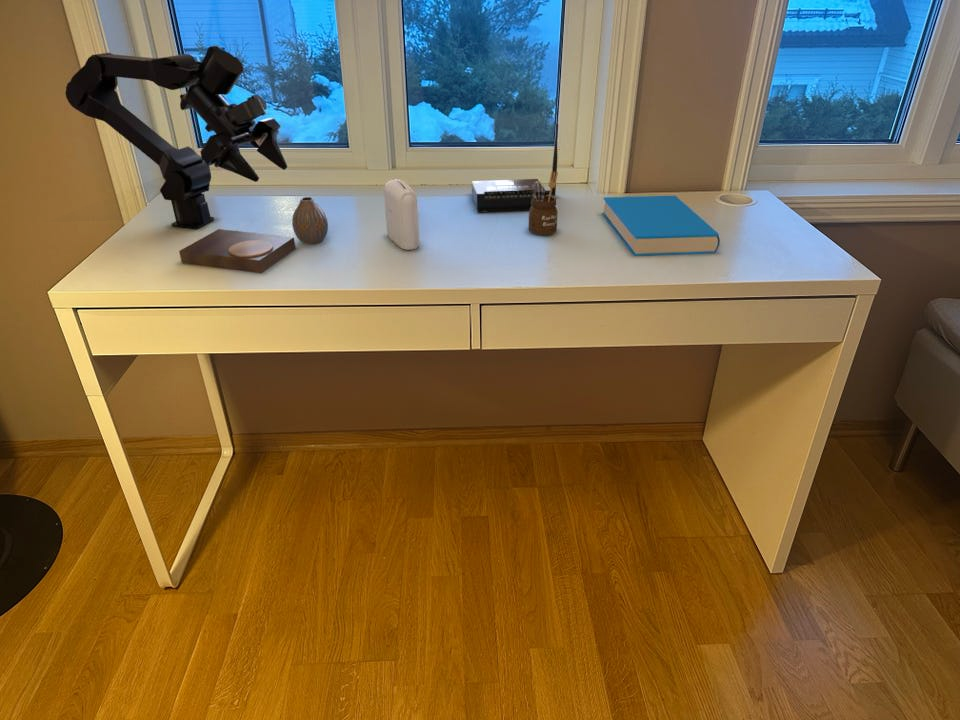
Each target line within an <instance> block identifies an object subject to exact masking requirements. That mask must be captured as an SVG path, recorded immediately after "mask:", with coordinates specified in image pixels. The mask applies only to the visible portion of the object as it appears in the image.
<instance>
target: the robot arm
mask: <svg viewBox="0 0 960 720" xmlns="http://www.w3.org/2000/svg"><path fill="white" fill-rule="evenodd" d="M205 52H206V53H205V56H204V57H203V59H202V60H201V61H198V60H196V59H195V57H194V56H193V55H191V54H190V53H189V54H188V53H183V54H177V55H171V56H170V55H169V56H163V57H146V56H145V57H144V56H135V55H123V54H114V53H111V52H103V53H96V54H91V55H90V56H89V57H88V58H87V59H86V62H85V64H84V65H83V66H82V67H81V68H80V69H79V70H77V72H75V73H74V75H72V77H71V79H70V80H69V81H68V82H67V84H66V87H65V98H66V100H67V102H68V104H69V105H70V106H71V107H72V108H73V109H75V110H76V111H78V112H79V113H81V114H83V115H84V116H86V117H88V118H92V119H96V120H98V121H102V122H104V123H106V124H107V125H108V126H109V127H110V128H112V129H113V130H114V131H116V132H117V133H118V134H119V135H121V136H122V137H123V138H124V139H125V140H127V141H128V142H129V143H130V144H131V145H133V146H134V147H135V148H136V149H138V150H139V151H140V152H142V153H143V154H144V155H145V156H146V157H147V158H149V159H150V160H151V161H153V162H154V163H155V164H156V165H158V167H159V170H160V173H161V175H162V178H163V179H164V180H165V181H164V183H163V184H162V185H161V187H160V188H159V192H160V193H161V196H162V198H163V199H164V201H170V202H171V206H172V210H173V215H174V219H175V221H173V222H171V225H170V226H171V227H177V228H184V229H194V230H196V229H199V228H202V227H203V226H205V225H207V224H209V223H210V222H211V223H212V222H213V221H215V217H214V216H211V215H210V214H211V213H210V209H209V203H208V201H206V196H205V193H206V192H209V191H210V186H211V185H210V184H211V180H212V172H211V167H210V166H214V167H215V168H220V169H224V170H226V171H229V172H232V173H234V174H237V175H239V176H241V177H243V178H245V179H248V180H250V181H253V182H254V183H257V182H258V181H259V180H260V177H259V175H258V173H256V171H255V170H254V169H253V167H252V166H251V165H250V164H249V162H248V161H247V160H246V158H244V156H243V155H242V153H241V151H240V147H241V146H244V145H246V144H250V145H252V147H254V148H257V149H256V152H257V153H259V154H260V155H262V156H263V157H264V158H265V159H267V160H268V161H270V162H271V163H273V164H274V165H276V166H277V167H278V168H280V169H282V170H283V171H285V170H287V168H288V164H287V162H286V159H285V157H284V155H283V153H282V151H281V148H280V145H279V142H278V135H279V134H280V129H281V124H280V123H279V122H278V121H277V119H275V117H267V118H264V119H261V120H258V121H257V122H256V121H254V120H256V119H257V118H260V117H261V116H262V117H263V116H265V115H267V112H266V110H267V109H268V106H267V102H266V100H265V99H263V97H261V96H260V95H259V94H258V93H256V94H253V95H251V96H249V97H247V98H246V100H244V101H242V102H240V103H239V104H237V103H231V104H229V103H228V101H226V99H225V98H224V97H223V96H225V95H226V96H227V95H229V94H230V93H231V91H232V90H233V88H234V86H235V85H236V84H237V81H238V80H239V78H240V77H241V75H242V74H243V72H244V65H243V64H242V62H241V61H240V59H239V58H238V57H237V56H235V55H233V54H232V53H230V52H228V51H226V50H223V49H221V48H220V47H219V46H218V45H210V46H209V47H208V48H207V50H206V51H205ZM118 78H124V79H133V80H142V81H149V82H152V83H154V84H155V85H156V86H158V87H160V88H164V89H167V90H170V91H177V90H181V89H185V88H188V89H187V91H186V93H182V94H180V95H179V99H180V102H179V107H180V110H181V111H185V110H188V109H193V111H195V112H196V113H197V115H198V116H199V117H200V118H201V119H202V120H203V121H204V122H205V123H206V125H205V127H204V129H205V130H206V131H207V133H211V132H214V134H213V135H210V136H209V137H208V139H207V140H206V142H205V143H204V145H203V147H202V148H201V150H200V155H199V154H198V153H197V152H196V151H195V150H194V149H193V148H192V147H190V146H184V147H182V148H176V147H175V146H173V145H172V144H171V143H169V142H168V141H167V140H165V138H163V137H162V136H161V135H159V134H158V133H157V132H156V131H155V130H154V129H152V128H151V127H150V126H148V125H147V124H146V123H145V122H143V121H142V120H141V119H140V118H139V117H137V116H136V115H135V114H134V113H132V112H131V111H130V110H129V109H128V108H127V107H125V106H124V105H123V104H122V103H121V100H120V97H119V94H118V92H117V91H116V89H117V87H118V85H119V83H118ZM222 95H223V96H222ZM255 122H256V124H255ZM253 126H254V127H253ZM251 128H252V129H251Z"/></svg>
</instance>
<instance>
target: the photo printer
mask: <svg viewBox="0 0 960 720" xmlns="http://www.w3.org/2000/svg"><path fill="white" fill-rule="evenodd" d="M383 197H384V198H383V199H384V210H385V211H384V212H385V222H386V232H387V237H388V238H389V239H390V240H391V241H392V242H393V243H394V244H395V245H397V246H398V247H399V248H400V249H402V250H405V251H412V250H416V249H417V248H418V247H420V230H419V211H418V199H417V195H416V193H415V191H414V189H412V187H411V186H410V185H409V184H408V183H407V182H405V181H404V180H402V179H399V178H396V179H390V180H388V181H387V182H386V183H385V184H384V186H383Z"/></svg>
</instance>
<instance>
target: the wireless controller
mask: <svg viewBox="0 0 960 720" xmlns="http://www.w3.org/2000/svg"><path fill="white" fill-rule="evenodd" d="M554 133H555V135H554V145H553V153H552V164H551V165H552V166H551V169H552V170H551V172H552V171H553V174H554V172H555V177H556V172H558V138H559V124H558V123H555V131H554ZM555 177H554V181H555ZM552 179H553V175H552ZM537 181H539V182H540V180H539V179H538V178H521V179H519V178H518V179H497V180H496V179H494V180H493V179H492V180H489V179H488V180H471V198H472V201H473V204H474V206H475V209H476V210H477V213H478V214H493V213H515V212H516V213H517V212H519V213H521V212H529V210H530V207H531V206H532V205H531V200H532V198H533V197H535V196H538V194H539V196H549V193H550V189H549V190H547V189H546V188H545V186H543V184H542V183H541V182H540V183H541V184H542V185H541V184H540V183H539V182H538V185H539V187H538V185H537ZM535 182H536V183H535ZM533 184H534V185H533ZM535 184H536V185H535ZM542 187H543V188H542ZM556 191H557V184H556V185H555V187H554V188H553V189H552V193H551V197H556ZM534 192H535V193H534ZM533 195H534V196H533Z"/></svg>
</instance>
